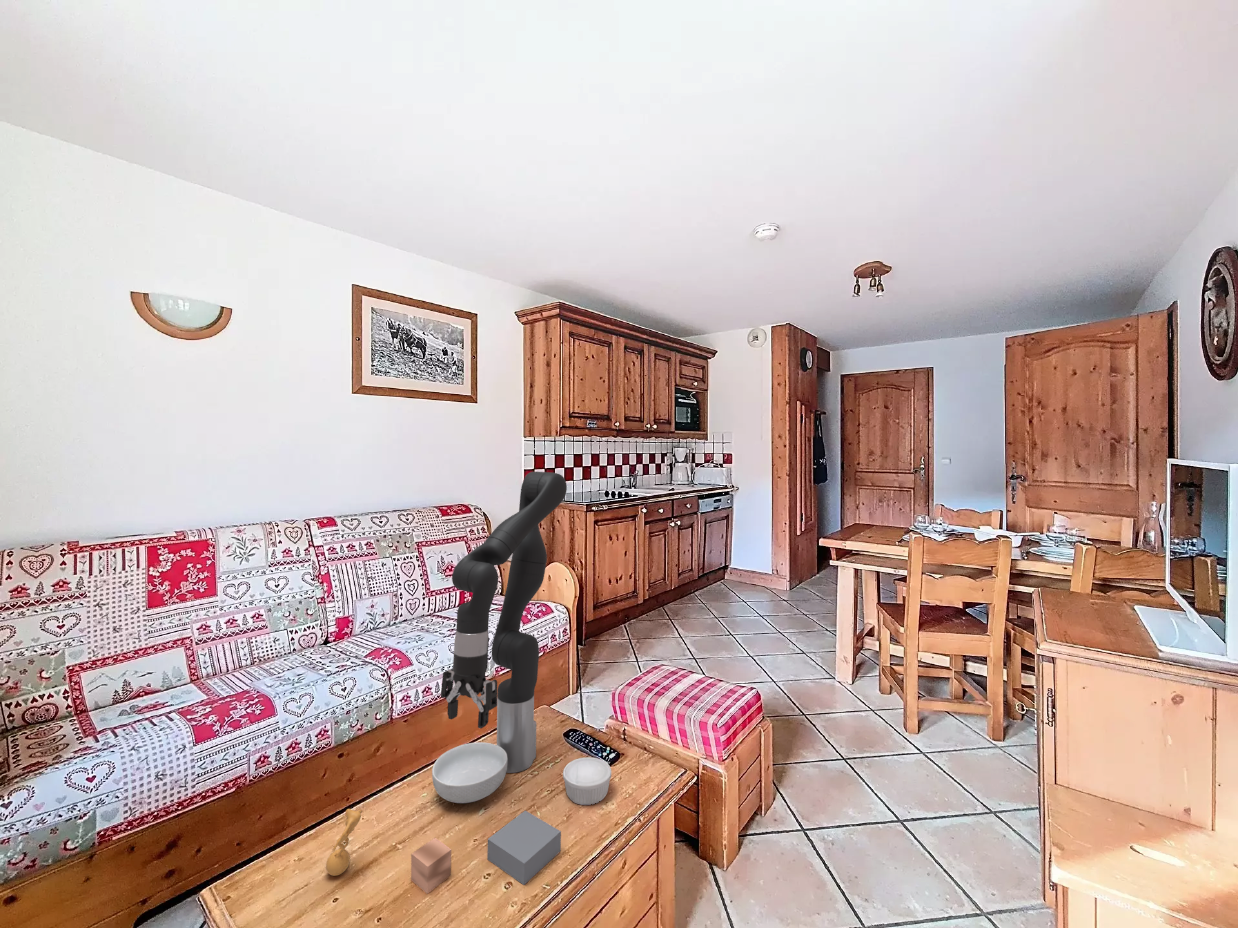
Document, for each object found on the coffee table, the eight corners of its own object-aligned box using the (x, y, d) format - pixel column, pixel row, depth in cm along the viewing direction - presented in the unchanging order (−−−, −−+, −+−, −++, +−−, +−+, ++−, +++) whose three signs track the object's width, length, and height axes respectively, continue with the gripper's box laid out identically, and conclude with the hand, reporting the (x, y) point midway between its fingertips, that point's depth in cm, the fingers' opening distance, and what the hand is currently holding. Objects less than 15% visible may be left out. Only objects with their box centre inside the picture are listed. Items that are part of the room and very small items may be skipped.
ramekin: (554, 788, 120) (554, 766, 120) (593, 772, 127) (593, 751, 127) (579, 816, 111) (579, 792, 111) (620, 796, 118) (620, 774, 118)
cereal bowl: (475, 761, 130) (475, 733, 130) (522, 785, 121) (522, 756, 121) (416, 797, 116) (416, 766, 116) (463, 827, 107) (464, 794, 107)
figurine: (339, 854, 99) (340, 793, 99) (370, 855, 99) (371, 794, 99) (314, 891, 91) (314, 824, 91) (347, 891, 91) (348, 825, 91)
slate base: (524, 829, 107) (525, 810, 107) (560, 850, 101) (560, 831, 101) (487, 859, 99) (487, 838, 99) (523, 884, 93) (524, 863, 93)
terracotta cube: (434, 862, 98) (435, 837, 98) (450, 875, 95) (451, 849, 95) (410, 880, 94) (411, 853, 94) (427, 894, 91) (427, 866, 91)
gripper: (507, 650, 116) (503, 723, 115) (458, 639, 122) (454, 708, 121) (485, 660, 109) (481, 737, 109) (435, 648, 115) (431, 721, 115)
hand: (467, 722), depth 115 cm, fingers open, 8 cm apart
